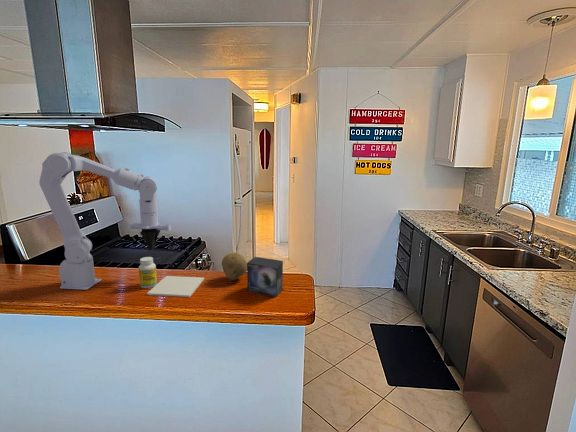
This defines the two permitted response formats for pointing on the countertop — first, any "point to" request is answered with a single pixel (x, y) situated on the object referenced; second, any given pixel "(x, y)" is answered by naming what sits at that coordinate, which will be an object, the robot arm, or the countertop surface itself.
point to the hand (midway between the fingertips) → (151, 249)
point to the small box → (265, 276)
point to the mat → (176, 286)
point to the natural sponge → (234, 266)
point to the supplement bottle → (147, 273)
